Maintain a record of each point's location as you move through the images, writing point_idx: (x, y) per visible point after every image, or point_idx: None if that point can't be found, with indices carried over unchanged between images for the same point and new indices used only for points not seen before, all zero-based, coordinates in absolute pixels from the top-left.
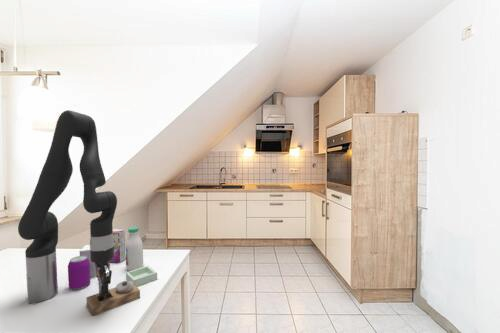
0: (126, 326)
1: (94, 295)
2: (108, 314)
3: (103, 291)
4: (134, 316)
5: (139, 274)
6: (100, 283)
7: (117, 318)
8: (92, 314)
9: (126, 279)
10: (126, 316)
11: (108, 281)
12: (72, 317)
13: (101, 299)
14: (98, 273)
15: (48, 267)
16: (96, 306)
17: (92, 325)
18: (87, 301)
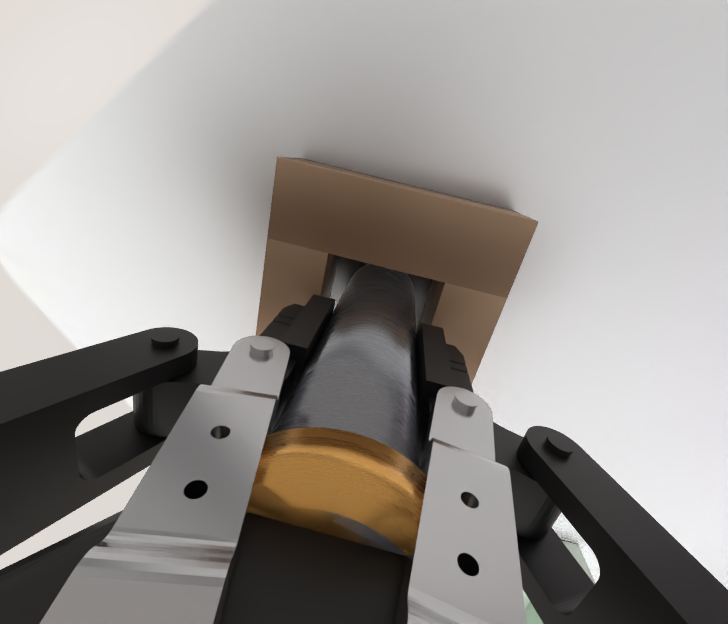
0: (7, 233)
1: (491, 284)
2: (228, 240)
3: (280, 315)
4: (81, 317)
5: (526, 607)
6: (325, 360)
7: (133, 249)
8: (300, 159)
9: (567, 544)
10: (115, 292)
11: (134, 422)
12: (436, 34)
13: (354, 281)
14: (268, 486)
15: None
16: (274, 195)
17: (174, 95)
18: (486, 207)
